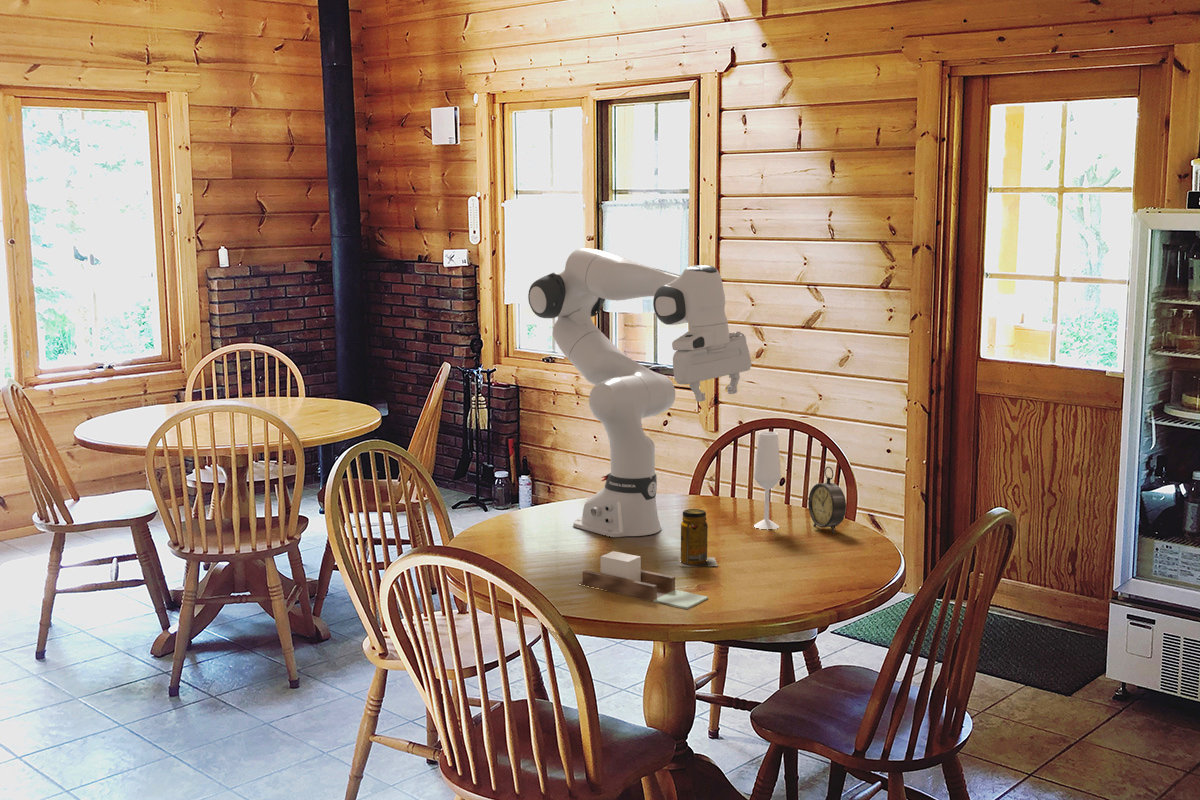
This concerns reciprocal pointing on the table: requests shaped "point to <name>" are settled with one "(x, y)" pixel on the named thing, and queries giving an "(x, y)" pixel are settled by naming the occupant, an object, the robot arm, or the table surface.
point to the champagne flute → (767, 471)
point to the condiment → (694, 540)
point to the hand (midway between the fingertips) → (716, 397)
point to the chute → (644, 588)
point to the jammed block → (621, 565)
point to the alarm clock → (827, 504)
